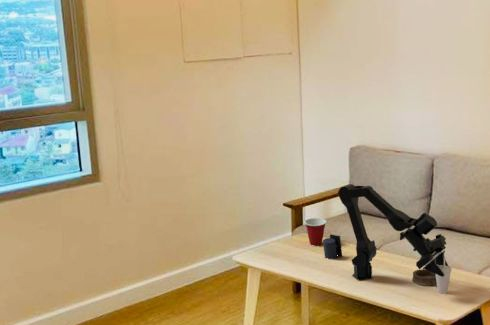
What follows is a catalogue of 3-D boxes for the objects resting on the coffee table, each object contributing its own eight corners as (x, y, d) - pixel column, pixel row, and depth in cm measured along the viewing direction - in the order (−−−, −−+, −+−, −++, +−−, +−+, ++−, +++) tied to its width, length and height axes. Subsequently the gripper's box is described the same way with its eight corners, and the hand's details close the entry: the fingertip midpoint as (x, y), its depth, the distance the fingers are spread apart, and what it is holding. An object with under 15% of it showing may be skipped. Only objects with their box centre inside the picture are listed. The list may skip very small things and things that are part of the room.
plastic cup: (303, 247, 306) (303, 223, 305) (305, 241, 317) (305, 217, 315) (326, 247, 305) (326, 223, 303) (327, 241, 315) (326, 217, 313)
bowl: (422, 287, 248) (422, 280, 248) (406, 278, 259) (406, 271, 259) (448, 283, 251) (448, 276, 251) (431, 274, 262) (431, 267, 262)
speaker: (334, 253, 295) (333, 232, 292) (342, 256, 290) (341, 235, 287) (321, 257, 291) (320, 236, 289) (329, 261, 287) (327, 240, 284)
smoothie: (448, 295, 239) (449, 260, 237) (431, 293, 242) (432, 258, 240) (453, 290, 244) (453, 255, 242) (436, 287, 248) (436, 253, 245)
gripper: (424, 235, 234) (454, 268, 229) (440, 223, 249) (469, 254, 244) (404, 252, 240) (432, 285, 235) (421, 240, 255) (448, 270, 250)
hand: (446, 273), depth 241 cm, fingers open, 7 cm apart
